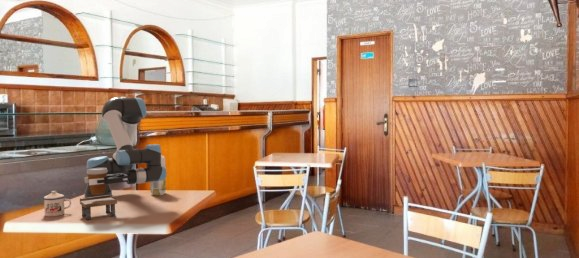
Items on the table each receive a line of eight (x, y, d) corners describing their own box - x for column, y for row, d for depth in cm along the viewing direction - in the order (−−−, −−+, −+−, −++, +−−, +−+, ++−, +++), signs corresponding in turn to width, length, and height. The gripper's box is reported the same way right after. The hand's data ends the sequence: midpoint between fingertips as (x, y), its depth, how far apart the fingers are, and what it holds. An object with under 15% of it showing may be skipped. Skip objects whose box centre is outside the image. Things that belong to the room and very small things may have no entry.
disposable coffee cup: (100, 195, 204) (99, 170, 203) (82, 195, 206) (81, 170, 205) (112, 191, 213) (112, 167, 213) (95, 191, 215) (94, 167, 214)
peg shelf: (80, 215, 210) (79, 198, 210) (110, 211, 219) (109, 194, 218) (85, 220, 201) (85, 202, 200) (117, 216, 209) (116, 198, 209)
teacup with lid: (42, 217, 208) (42, 193, 207) (45, 213, 216) (44, 190, 216) (70, 214, 213) (70, 191, 212) (72, 211, 221) (71, 188, 220)
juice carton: (162, 195, 257) (161, 155, 256) (149, 195, 258) (148, 155, 256) (167, 192, 267) (166, 154, 266) (154, 192, 267) (153, 154, 266)
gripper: (128, 166, 228) (81, 171, 214) (141, 171, 211) (91, 175, 198) (129, 181, 228) (82, 186, 215) (142, 186, 212) (92, 192, 198)
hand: (87, 181), depth 206 cm, fingers closed on disposable coffee cup, 8 cm apart
